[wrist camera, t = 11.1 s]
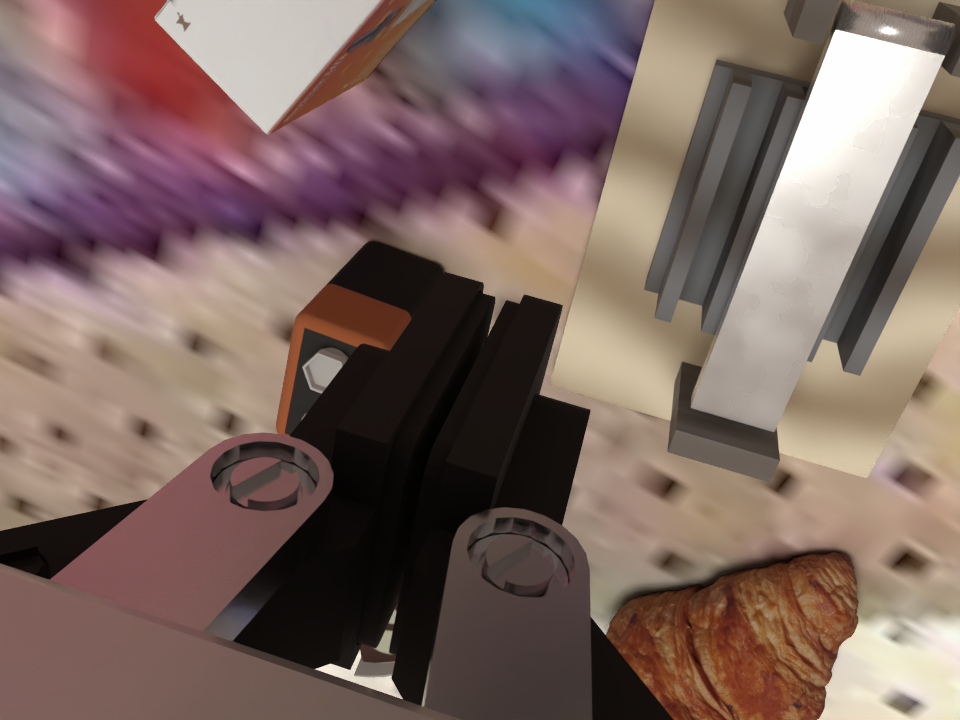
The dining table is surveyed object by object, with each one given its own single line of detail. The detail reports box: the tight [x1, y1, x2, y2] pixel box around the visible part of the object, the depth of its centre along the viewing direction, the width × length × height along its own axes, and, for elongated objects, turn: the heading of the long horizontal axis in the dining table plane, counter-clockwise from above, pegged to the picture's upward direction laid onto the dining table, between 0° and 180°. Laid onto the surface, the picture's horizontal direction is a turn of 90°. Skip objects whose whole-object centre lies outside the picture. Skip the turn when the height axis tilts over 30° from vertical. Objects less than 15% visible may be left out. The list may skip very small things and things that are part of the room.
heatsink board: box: [550, 0, 960, 482], centre depth 35 cm, size 24×16×8 cm, turn 169°
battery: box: [276, 242, 443, 436], centre depth 42 cm, size 4×7×10 cm, turn 164°
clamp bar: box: [691, 0, 956, 432], centre depth 33 cm, size 17×4×1 cm, turn 169°
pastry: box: [606, 552, 858, 720], centre depth 49 cm, size 17×15×8 cm
